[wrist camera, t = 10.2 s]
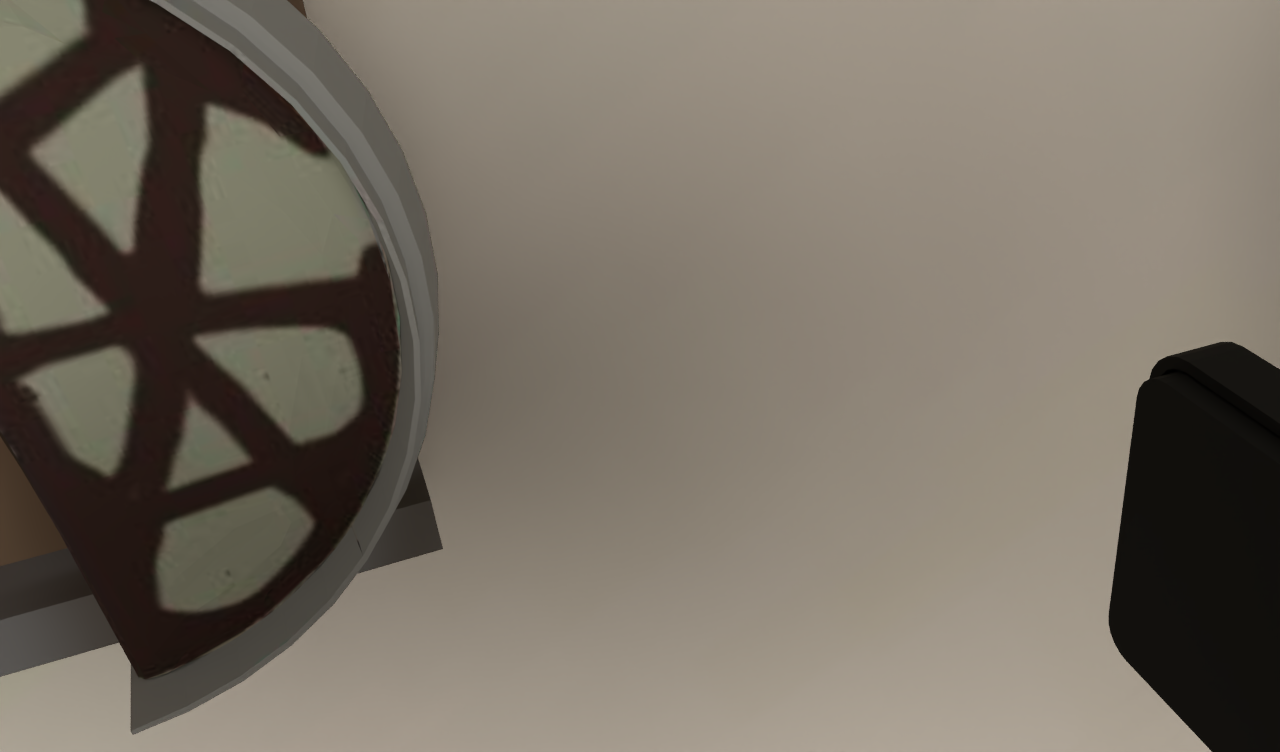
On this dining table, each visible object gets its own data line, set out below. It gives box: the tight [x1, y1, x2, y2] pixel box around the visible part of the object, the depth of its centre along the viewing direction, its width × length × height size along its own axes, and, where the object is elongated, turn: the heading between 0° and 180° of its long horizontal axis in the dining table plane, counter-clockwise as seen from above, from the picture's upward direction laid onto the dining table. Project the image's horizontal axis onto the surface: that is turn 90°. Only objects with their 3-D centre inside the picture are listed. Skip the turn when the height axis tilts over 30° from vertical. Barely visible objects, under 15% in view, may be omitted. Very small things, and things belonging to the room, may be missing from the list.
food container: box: [0, 0, 439, 734], centre depth 19 cm, size 12×6×10 cm, turn 10°
